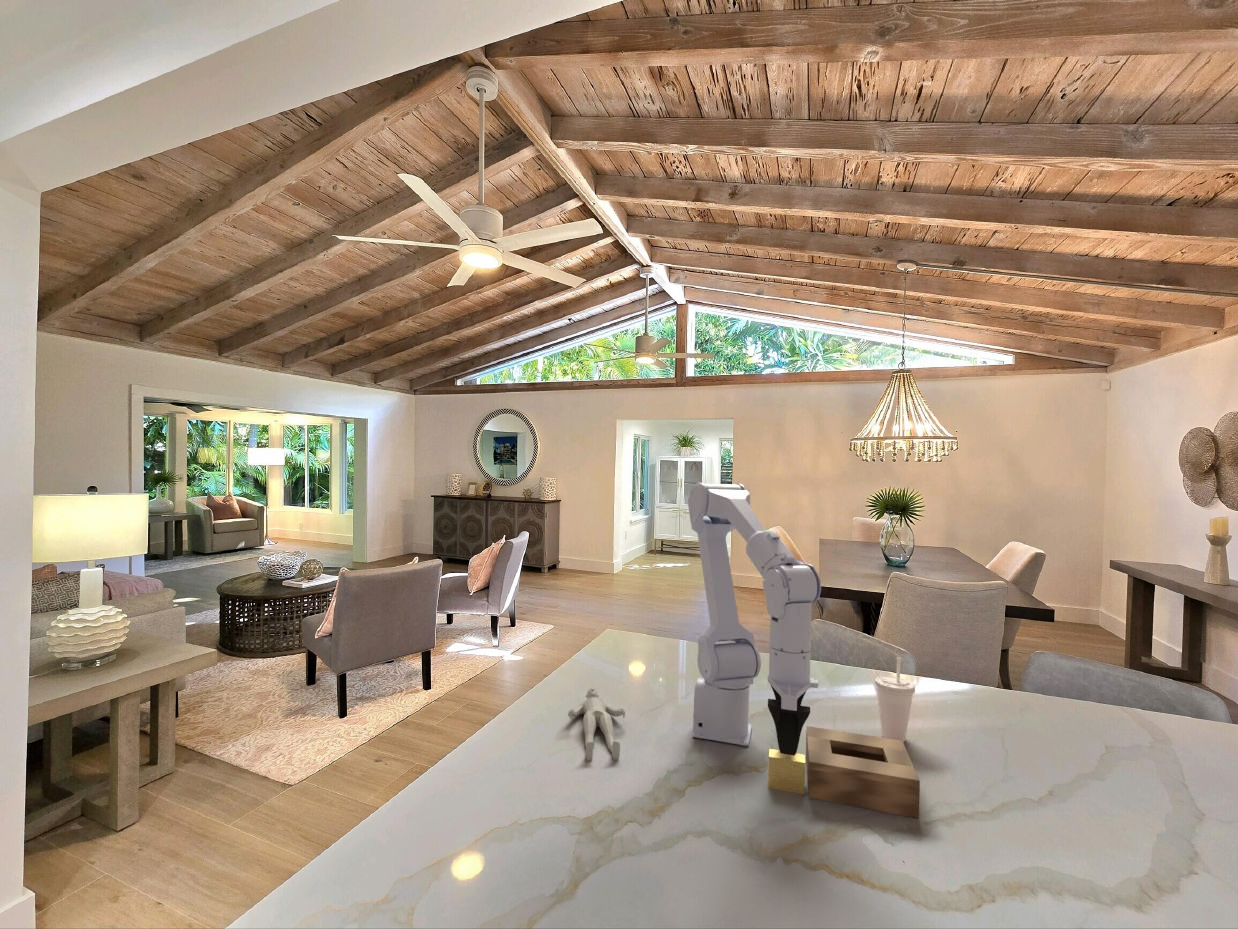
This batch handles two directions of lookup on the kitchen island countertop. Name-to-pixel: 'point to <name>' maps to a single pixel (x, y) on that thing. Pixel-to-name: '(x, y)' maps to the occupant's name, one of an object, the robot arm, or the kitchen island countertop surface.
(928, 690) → the kitchen island countertop surface
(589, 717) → the male figure
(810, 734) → the brown rectangular hollow block
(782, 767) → the block
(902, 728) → the smoothie
